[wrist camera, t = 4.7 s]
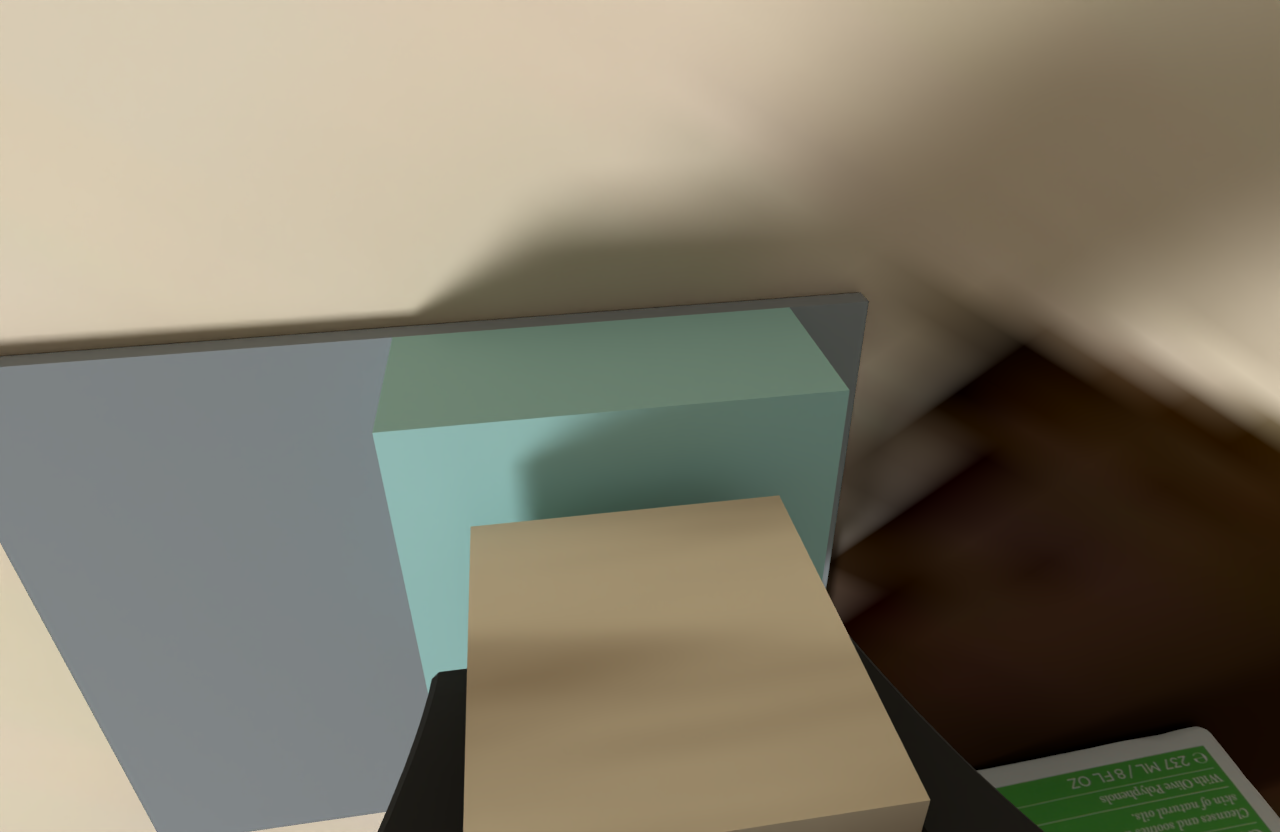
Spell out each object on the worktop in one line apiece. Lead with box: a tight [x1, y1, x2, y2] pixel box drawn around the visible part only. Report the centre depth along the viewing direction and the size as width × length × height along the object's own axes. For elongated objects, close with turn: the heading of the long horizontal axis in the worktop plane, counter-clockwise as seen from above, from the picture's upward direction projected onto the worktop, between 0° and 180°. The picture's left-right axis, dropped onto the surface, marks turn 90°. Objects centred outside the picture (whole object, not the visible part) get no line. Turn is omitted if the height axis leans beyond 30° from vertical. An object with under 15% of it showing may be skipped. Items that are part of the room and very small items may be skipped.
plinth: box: [372, 307, 850, 693], centre depth 15 cm, size 7×7×3 cm
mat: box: [0, 293, 869, 832], centre depth 18 cm, size 13×16×1 cm
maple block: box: [463, 495, 930, 832], centre depth 11 cm, size 4×4×5 cm
